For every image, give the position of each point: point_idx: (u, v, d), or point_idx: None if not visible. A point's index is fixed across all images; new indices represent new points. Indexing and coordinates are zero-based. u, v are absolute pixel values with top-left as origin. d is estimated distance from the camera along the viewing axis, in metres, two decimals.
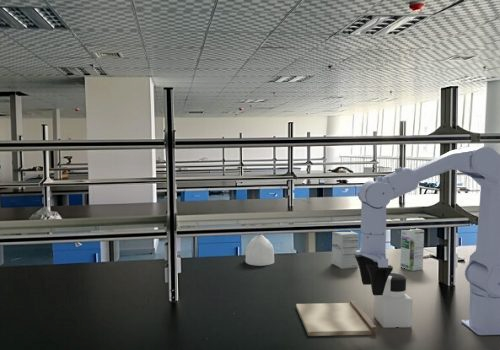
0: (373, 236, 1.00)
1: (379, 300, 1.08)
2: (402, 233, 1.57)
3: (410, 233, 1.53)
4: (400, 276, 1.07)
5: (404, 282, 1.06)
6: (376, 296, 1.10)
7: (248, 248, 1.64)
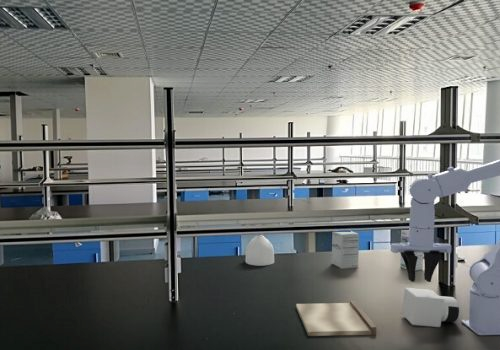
0: (409, 227, 1.09)
1: (434, 294, 1.08)
2: (402, 233, 1.57)
3: None
4: None
5: (453, 320, 1.07)
6: (430, 291, 1.11)
7: (248, 248, 1.64)
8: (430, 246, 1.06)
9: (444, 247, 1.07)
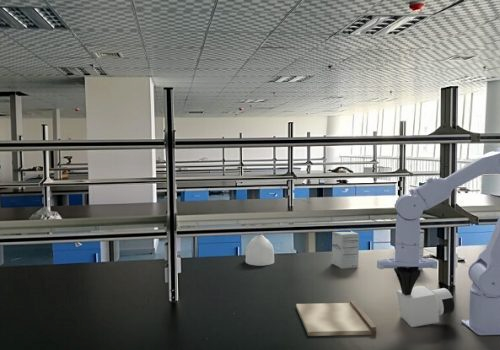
0: (395, 243, 1.09)
1: (425, 291, 1.08)
2: None
3: None
4: None
5: (451, 311, 1.07)
6: (422, 288, 1.10)
7: (248, 248, 1.64)
8: (416, 262, 1.06)
9: (430, 263, 1.07)
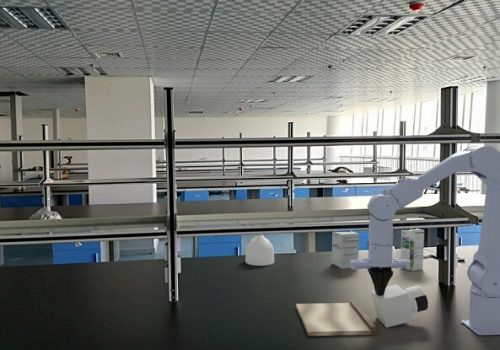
0: None
1: (398, 290, 1.08)
2: (402, 233, 1.57)
3: (410, 233, 1.53)
4: None
5: (425, 308, 1.07)
6: (395, 287, 1.10)
7: (248, 248, 1.64)
8: (388, 263, 1.05)
9: (403, 263, 1.07)
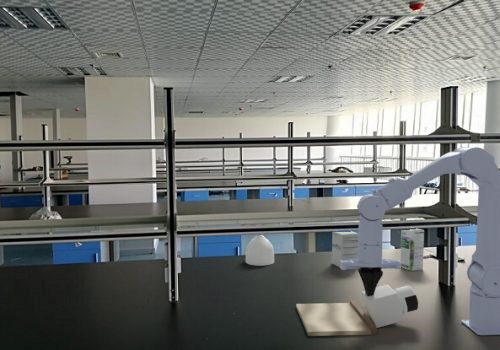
0: (358, 244, 1.08)
1: (388, 290, 1.07)
2: (402, 233, 1.57)
3: (410, 233, 1.53)
4: None
5: (415, 308, 1.06)
6: (385, 287, 1.10)
7: (248, 248, 1.64)
8: (378, 263, 1.05)
9: (393, 263, 1.07)
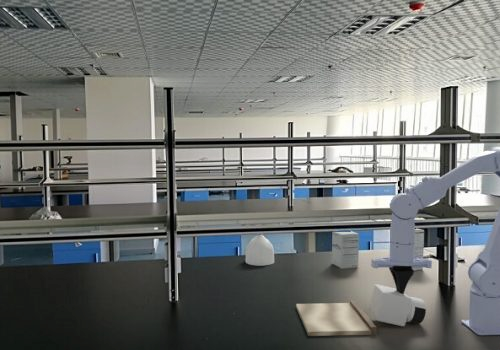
0: (390, 242, 1.09)
1: None
2: None
3: None
4: None
5: (419, 321, 1.06)
6: None
7: (248, 248, 1.64)
8: (410, 262, 1.06)
9: (424, 262, 1.07)
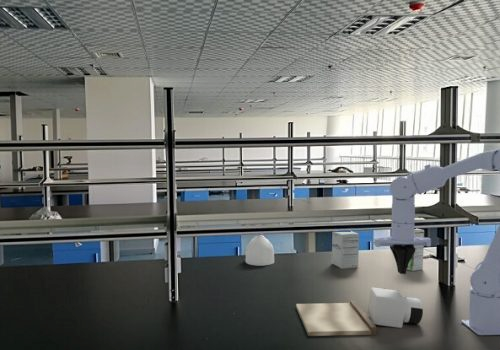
0: None
1: (398, 295, 1.08)
2: None
3: None
4: None
5: (417, 322, 1.06)
6: (396, 292, 1.10)
7: (248, 248, 1.64)
8: (411, 240, 1.12)
9: (424, 241, 1.14)
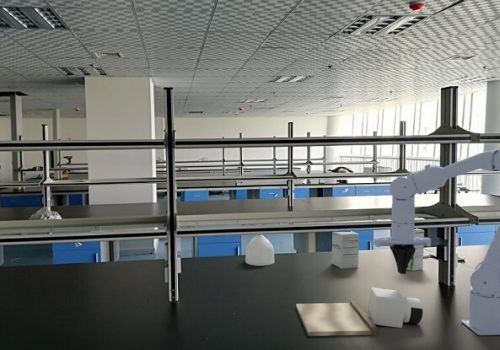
0: None
1: (398, 295, 1.08)
2: None
3: None
4: None
5: (417, 322, 1.06)
6: (396, 292, 1.10)
7: (248, 248, 1.64)
8: (411, 240, 1.12)
9: (424, 241, 1.14)
